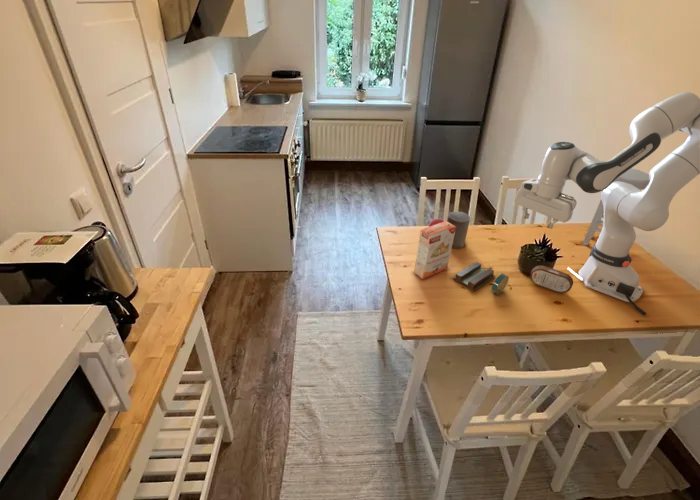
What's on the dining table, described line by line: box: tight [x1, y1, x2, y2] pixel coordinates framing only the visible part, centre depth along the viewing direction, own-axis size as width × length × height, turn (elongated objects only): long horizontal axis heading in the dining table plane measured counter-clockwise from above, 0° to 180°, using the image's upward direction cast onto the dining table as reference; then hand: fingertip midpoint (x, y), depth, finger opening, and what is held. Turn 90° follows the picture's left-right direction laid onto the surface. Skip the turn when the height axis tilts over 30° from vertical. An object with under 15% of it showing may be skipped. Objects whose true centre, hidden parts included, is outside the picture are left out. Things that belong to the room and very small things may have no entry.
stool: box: [581, 167, 650, 246], centre depth 170 cm, size 16×16×35 cm
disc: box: [491, 272, 510, 295], centre depth 146 cm, size 2×8×8 cm, turn 130°
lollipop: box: [428, 218, 445, 227], centre depth 169 cm, size 8×8×15 cm
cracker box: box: [413, 220, 456, 280], centre depth 153 cm, size 14×6×21 cm, turn 123°
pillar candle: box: [446, 211, 471, 249], centre depth 174 cm, size 10×10×15 cm
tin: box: [529, 265, 574, 294], centre depth 149 cm, size 15×3×8 cm, turn 56°
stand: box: [452, 261, 495, 292], centre depth 155 cm, size 10×14×3 cm
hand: (537, 222), depth 143 cm, fingers open, 8 cm apart
